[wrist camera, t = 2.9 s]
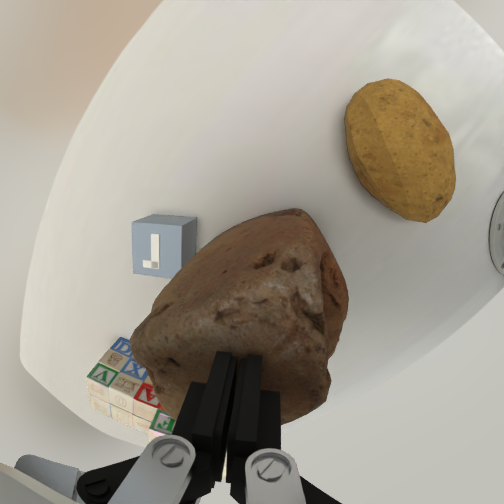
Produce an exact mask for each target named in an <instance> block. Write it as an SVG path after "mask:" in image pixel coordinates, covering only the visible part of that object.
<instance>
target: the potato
mask: <svg viewBox="0 0 504 504" xmlns="http://www.w3.org/2000/svg"><path fill="white" fill-rule="evenodd" d="M344 120H345V126H346V139H347V148H348V152H349V157H350V160H351V162H352V164H353V167H354V169H355V171H356V173H357V176H358V178H359V180H360V182H361V184H362V185H363V186H364V187H365V188H366V189H367V190H368V191H369V192H370V193H371V194H372V195H373V196H374V197H375V198H377V199H378V200H380V201H381V202H382V203H383V204H384V205H385V206H386V207H388V208H390V209H391V210H393V211H394V212H396V213H397V214H399V215H400V216H402V217H403V218H405V219H407V220H412V221H417V222H423V223H427V222H428V221H430V220H432V219H434V218H436V217H437V216H438V215H439V214H440V213H441V212H442V210H443V209H444V208H445V207H446V205H447V204H448V203H449V201H450V200H451V198H452V195H453V192H454V190H455V182H456V175H455V167H454V151H453V146H452V142H451V139H450V135H449V133H448V132H447V130H446V129H445V127H444V126H443V124H442V123H441V122H440V120H439V119H438V117H437V116H436V114H435V113H434V111H433V110H432V108H431V107H430V106H429V104H428V103H427V102H426V101H425V100H424V98H423V97H422V96H421V95H420V94H419V93H418V92H417V91H416V90H414V89H413V88H411V87H410V86H408V85H407V84H405V83H403V82H401V81H399V80H393V79H384V80H380V81H377V82H372V83H368V84H366V85H365V86H364V87H362V88H361V89H360V90H359V91H357V92H356V93H355V94H354V95H353V97H352V99H351V100H350V102H349V104H348V105H347V108H346V113H345V118H344Z"/></svg>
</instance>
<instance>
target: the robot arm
mask: <svg viewBox="0 0 504 504" xmlns="http://www.w3.org/2000/svg"><path fill="white" fill-rule="evenodd" d="M490 251H491V256H492V260H493V263H494V265H495V267H496V268H497V270H498V271H499V272H500V273H502V274H503V275H504V193H503V194H502V196H501V198H500V199H499V201H498V203H497V205H496V208H495V211H494V214H493V217H492V222H491V228H490ZM236 368H237V357H233V356H232V352H223V351H217V352H216V355H215V358H214V361H213V364H212V368H211V371H210V374H209V377H208V381H207V384H206V383H200V382H194V381H192V382H191V384H190V386H189V389H188V391H187V394H186V397H185V399H184V402H183V404H182V407H181V410H180V412H179V415H178V418H177V420H176V423H175V426H174V428H173V431H172V434H171V435H163V436H159V437H157V438H155V439H153V440H152V441H151V442H150V443H149V444H148V445H147V447H146V448H145V450H144V451H143V453H142V454H141V455H140V456H138V457H135V458H132V459H129V460H125V461H123V462H119V463H116V464H112V465H109V466H106V467H102V468H98V469H95V470H91V471H88V472H82V471H80V470H79V469H78V468H74V467H70V466H67V465H63V464H59V463H56V462H53V461H50V460H46V459H43V458H40V457H37V456H34V455H24V456H22V457H20V458H19V459H18V461H17V462H16V465H15V467H14V468H12V467H10V466H7V465H4V464H2V463H0V504H199V502H200V499H201V497H202V496H204V495H206V494H208V493H210V492H211V488H214V485H215V481H218V482H221V480H222V474H223V469H224V463H225V458H226V452H227V463H226V483H231V490H230V495H231V496H232V497H233V498H234V499H235V500H236V501H237V502H238V503H239V504H342V503H340V502H338V501H337V500H335V499H334V498H332V497H330V496H329V495H327V494H326V493H324V492H323V491H321V490H320V489H318V488H317V487H315V486H314V485H313V484H311V483H309V482H308V481H307V480H305V479H304V478H303V477H301V476H300V475H299V472H298V468H297V464H296V462H295V460H294V459H293V458H292V457H291V456H290V455H289V454H288V453H286V452H284V451H282V450H281V401H280V391H266V390H260V386H261V372H262V356H260V355H250V354H248V356H247V358H241V363H240V369H239V375H238V381H237V386H236V392H235V383H236Z"/></svg>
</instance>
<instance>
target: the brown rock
mask: <svg viewBox="0 0 504 504" xmlns="http://www.w3.org/2000/svg"><path fill="white" fill-rule="evenodd" d="M348 301H349V297H348V290H347V286H346V282H345V279H344V277H343V274H342V272H341V270H340V268H339V266H338V264H337V262H336V260H335V258H334V256H333V254H332V252H331V250H330V248H329V246H328V244H327V242H326V240H325V238H324V237H323V235H322V233H321V232H320V230H319V229H318V227H317V225H316V224H315V222H314V221H313V220H312V218H311V217H310V216H309V215H308V214H307V213H306V212H304V211H303V210H301V209H296V208H293V209H289V210H283V211H278V212H274V213H269V214H266V215H262V216H259V217H256V218H253V219H250V220H248V221H245V222H243V223H241V224H239V225H237V226H234V227H232V228H230V229H229V230H227V231H225V232H223V233H222V234H220V235H219V236H217V237H216V238H214V239H213V240H212V241H211V242H209V243H208V244H207V245H206V246H205V247H203V248H202V249H201V250H200V251H199V252H198V253H197V254H196V255H195V256H193V257H192V258H191V259H190V260H189V261H188V262H187V263H186V264H185V265H184V266H183V267H182V268H181V269H180V270H179V271H178V272H177V273H176V274H175V276H174V277H173V279H172V280H171V281H170V283H169V284H167V285H166V286H165V287H164V289H163V290H162V291H161V293H160V294H159V295H158V297H157V298H156V299H155V301H154V304H153V306H152V311H151V313H150V314H149V315H148V316H147V318H146V319H145V320H144V321H143V322H142V323H141V324H140V325H139V326H138V327H137V328H136V329H135V331H134V333H133V334H132V336H131V338H130V349H131V352H132V355H133V357H134V359H135V361H136V363H137V364H139V365H140V366H142V367H145V368H146V371H147V373H148V375H149V377H150V380H151V382H152V385H153V389H154V393H155V395H156V397H157V399H158V401H159V402H160V404H161V406H162V407H163V409H164V410H165V411H166V412H167V413H168V414H169V415H170V416H171V417H172V418H173V419H174V420H175V421H176V420H177V418H178V415H179V412H180V410H181V407H182V404H183V402H184V399H185V397H186V394H187V391H188V389H189V386H190V384H191V382H192V381H194V382H200V383H206V384H207V381H208V377H209V374H210V371H211V368H212V364H213V361H214V358H215V355H216V352H217V351H223V352H232V356H233V357H237V368H236V383H235V392H236V386H237V381H238V375H239V369H240V363H241V358H247V356H248V354H250V355H260V356H262V372H261V386H260V390H266V391H280V401H281V425H283V424H286V423H289V422H291V421H294V420H296V419H298V418H300V417H302V416H304V415H306V414H308V413H310V412H312V411H313V410H315V409H316V408H318V407H319V406H320V405H322V404H323V403H324V402H325V401H326V399H327V395H328V391H329V388H330V384H331V377H330V374H329V371H328V369H327V365H328V359H329V358H330V357H331V356H332V355H333V353H334V351H335V348H336V345H337V343H338V341H339V336H340V333H341V330H342V326H343V322H344V320H345V319H346V316H347V311H348Z"/></svg>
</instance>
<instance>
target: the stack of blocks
mask: <svg viewBox="0 0 504 504" xmlns="http://www.w3.org/2000/svg"><path fill="white" fill-rule="evenodd" d="M87 386H88V393H89V398H90V405H91V408H92V409H94V410H96V411H98V412H100V413H102V414H104V415H106V416H108V417H111V418H112V419H114V420H116V421H118V422H120V423H122V424H125V425H127V426H129V427H132V428H134V429H136V430H139V431H141V432H144V433H146V434H149V443H150V442H151V441H152V440H153V439H155V438H157V437H159V436H163V435H171V434H172V431H173V428H174V426H175V423H176V421H175V420H174V419H173V418H172V417H171V416H170V415H169V414H168V413H167V412H166V411H165V410H164V409H163V407H162V406H161V404H160V402H159V401H158V399H157V397H156V395H155V393H154V389H153V385H152V382H151V380H150V377H149V375H148V373H147V371H146V368H145V367H142V366H140V365H139V364H137V363H136V361H135V359H134V357H133V355H132V352H131V349H130V341H128V340H126V339H124V338H121V337H120V338H119V339H118V340H117V341H116V342H115V343H114V344H113V346H112V347H111V348H110V349H109V350H108V351H107V352H106V353H105V354H104V355H103V357H102V358H101V359H100V360H99V362H98V363H97V365H96V366H95V367H94V368H93V369H92V371H91V372H90V373H89V374H88V375H87ZM226 463H227V452H226V458H225V463H224V469H223V474H222V477H226Z"/></svg>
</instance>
